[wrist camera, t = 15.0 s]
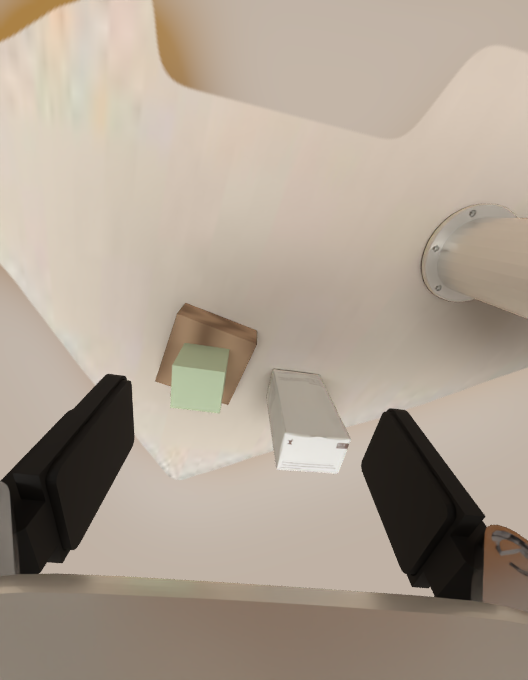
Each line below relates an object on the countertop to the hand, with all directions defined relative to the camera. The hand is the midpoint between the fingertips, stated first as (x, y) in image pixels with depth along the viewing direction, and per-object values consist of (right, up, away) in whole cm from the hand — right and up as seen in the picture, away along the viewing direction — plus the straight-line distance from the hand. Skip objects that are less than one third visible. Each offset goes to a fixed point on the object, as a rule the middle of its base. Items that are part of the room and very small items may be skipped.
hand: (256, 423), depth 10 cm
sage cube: (-8, 0, +28) cm, 29 cm away
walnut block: (-8, +2, +32) cm, 33 cm away
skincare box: (+5, -4, +35) cm, 36 cm away
